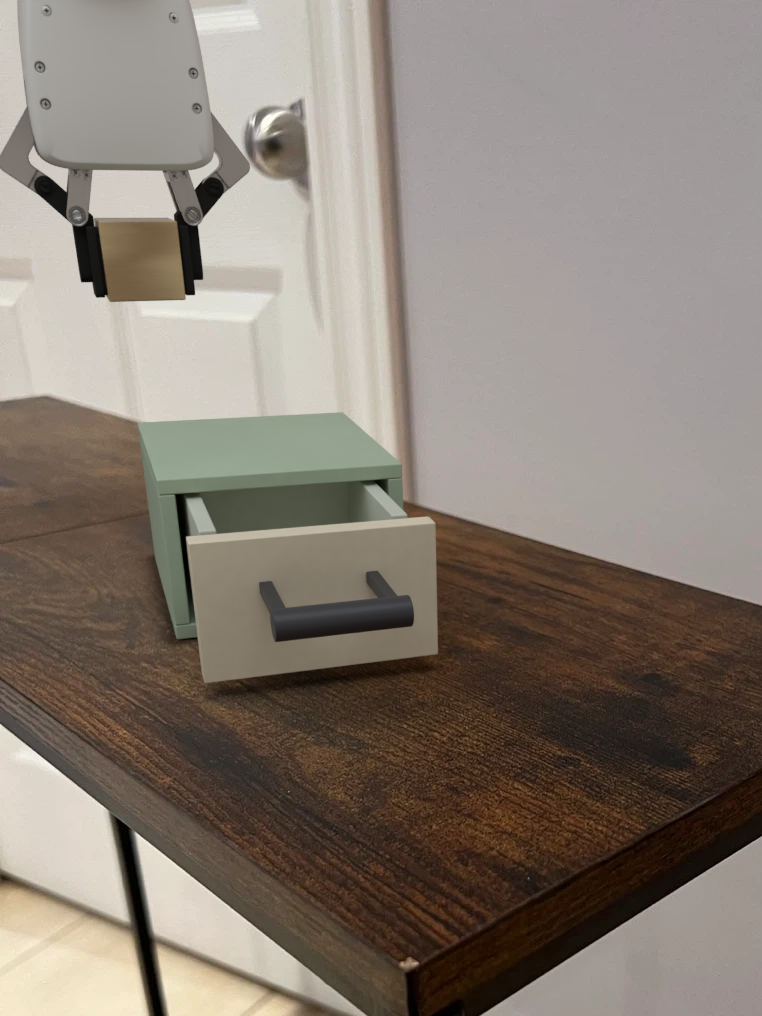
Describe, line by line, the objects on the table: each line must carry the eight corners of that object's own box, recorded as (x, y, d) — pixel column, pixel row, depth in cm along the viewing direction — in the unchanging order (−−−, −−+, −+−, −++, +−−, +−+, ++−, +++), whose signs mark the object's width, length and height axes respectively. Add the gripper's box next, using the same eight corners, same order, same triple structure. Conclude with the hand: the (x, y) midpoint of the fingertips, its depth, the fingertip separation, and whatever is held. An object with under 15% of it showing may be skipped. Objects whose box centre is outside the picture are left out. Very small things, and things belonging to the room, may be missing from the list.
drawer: (473, 699, 53) (473, 558, 50) (220, 735, 49) (203, 584, 46) (374, 572, 69) (369, 459, 66) (177, 591, 65) (162, 472, 62)
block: (109, 302, 69) (97, 221, 67) (104, 294, 73) (93, 217, 71) (186, 300, 71) (176, 220, 69) (177, 292, 75) (168, 217, 73)
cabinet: (406, 614, 65) (402, 463, 61) (176, 640, 61) (156, 479, 57) (350, 541, 77) (343, 411, 74) (155, 558, 73) (137, 422, 69)
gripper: (242, -33, 70) (269, 285, 78) (-65, -55, 64) (-2, 292, 72) (264, -51, 64) (291, 297, 72) (-73, -78, 58) (-4, 304, 66)
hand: (144, 291), depth 72 cm, fingers closed on block, 4 cm apart
